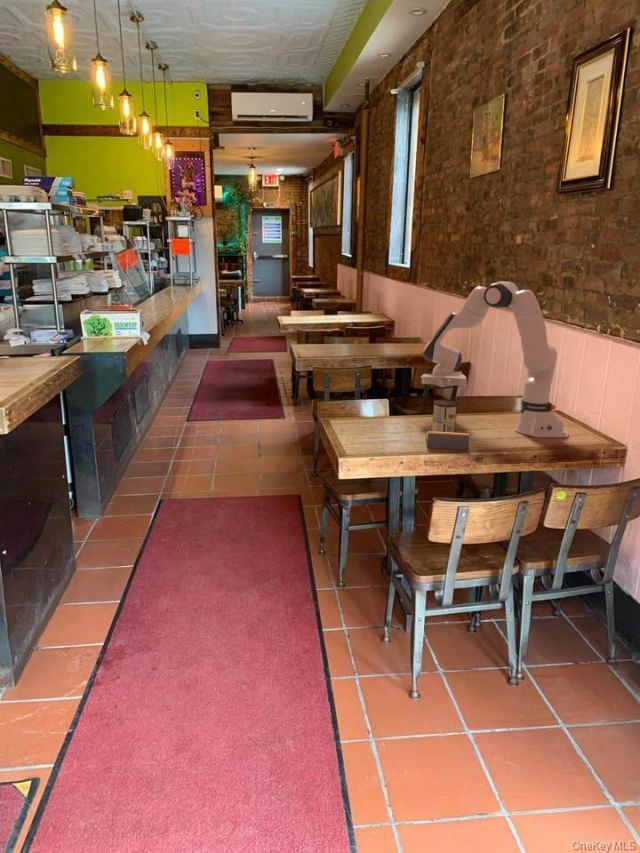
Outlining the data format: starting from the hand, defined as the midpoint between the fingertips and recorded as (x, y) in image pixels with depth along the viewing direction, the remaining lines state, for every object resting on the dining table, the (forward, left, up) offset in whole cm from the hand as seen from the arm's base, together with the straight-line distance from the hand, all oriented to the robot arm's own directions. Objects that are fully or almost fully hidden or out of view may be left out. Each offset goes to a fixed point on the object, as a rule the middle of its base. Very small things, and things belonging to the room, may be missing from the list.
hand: (445, 383), depth 282 cm
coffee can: (0, +12, -20) cm, 24 cm away
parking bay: (0, +28, -20) cm, 34 cm away
